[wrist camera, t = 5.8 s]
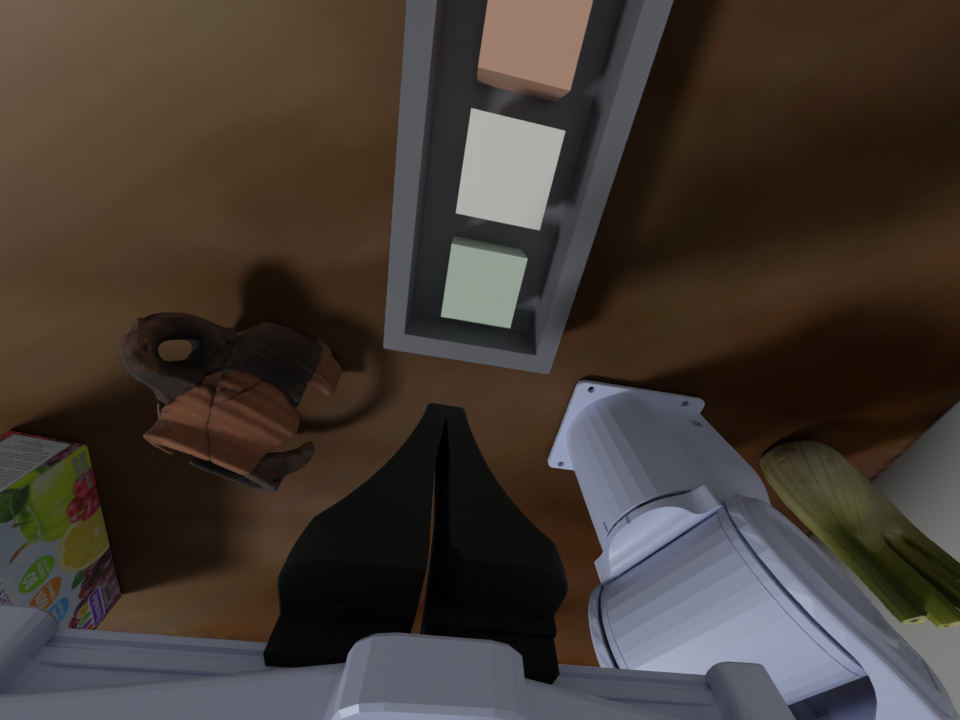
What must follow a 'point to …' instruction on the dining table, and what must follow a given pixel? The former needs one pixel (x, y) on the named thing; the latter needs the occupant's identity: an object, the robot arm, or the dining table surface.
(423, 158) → the grey rectangular tray
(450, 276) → the key
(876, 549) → the fennel bulb
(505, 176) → the key mid
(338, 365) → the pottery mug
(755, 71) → the dining table surface
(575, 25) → the key
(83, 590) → the snack box
